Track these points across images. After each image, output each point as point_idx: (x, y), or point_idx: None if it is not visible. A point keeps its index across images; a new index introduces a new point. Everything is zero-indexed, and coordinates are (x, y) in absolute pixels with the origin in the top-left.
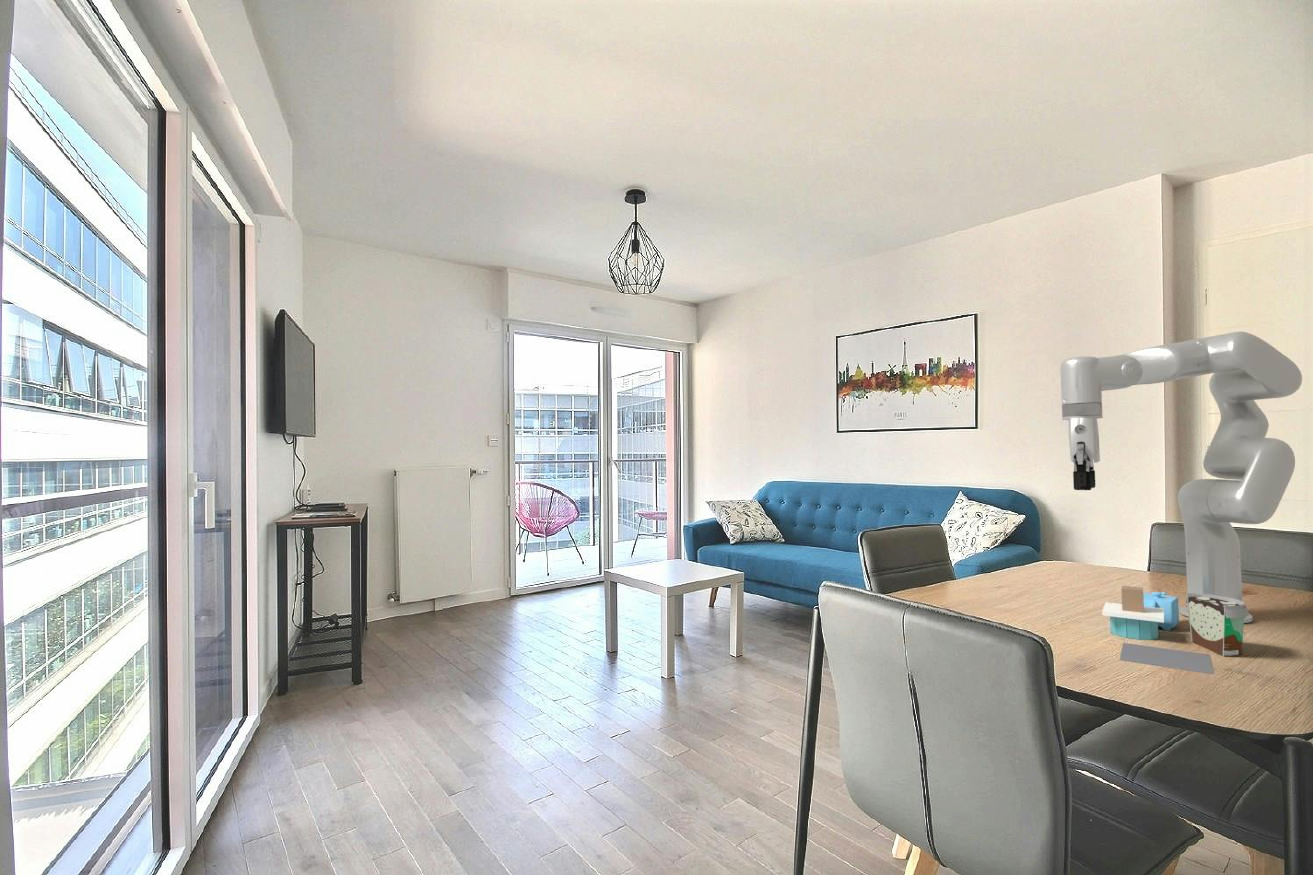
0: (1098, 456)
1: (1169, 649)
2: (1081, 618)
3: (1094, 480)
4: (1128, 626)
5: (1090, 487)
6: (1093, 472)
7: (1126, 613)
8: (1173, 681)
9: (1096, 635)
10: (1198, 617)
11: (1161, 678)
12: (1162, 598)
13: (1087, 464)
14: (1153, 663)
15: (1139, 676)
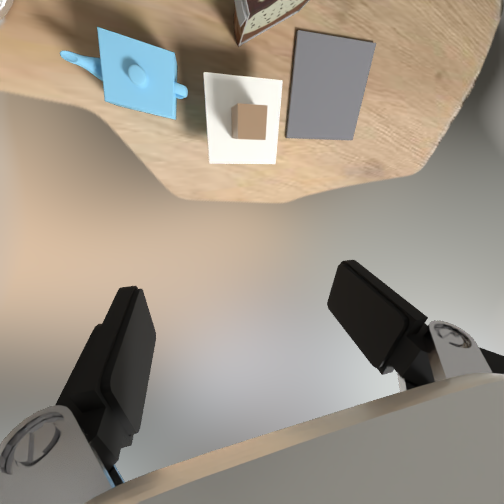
0: (477, 491)
1: (294, 84)
2: (174, 191)
3: (121, 316)
4: None
5: (357, 265)
6: (113, 372)
7: (273, 133)
8: (393, 91)
9: (255, 167)
10: (265, 16)
11: (387, 102)
12: (142, 66)
13: (481, 369)
14: (355, 107)
15: (385, 122)
